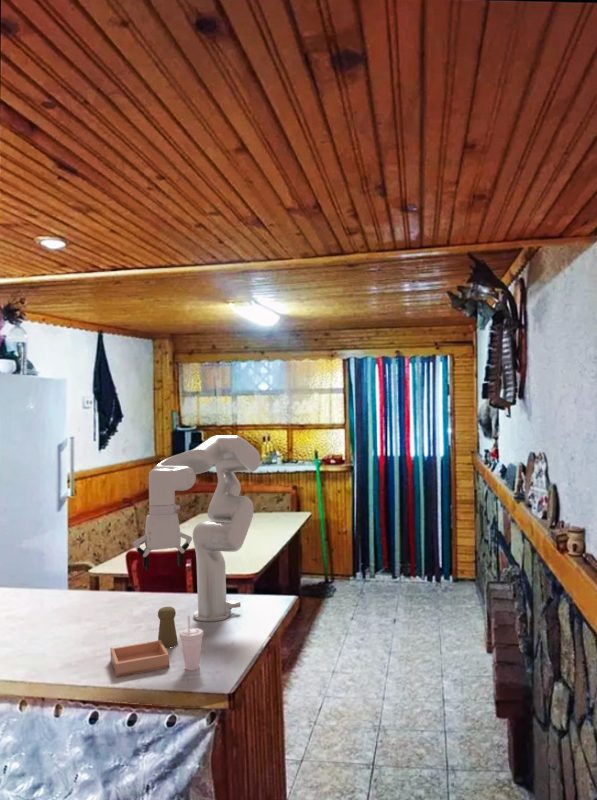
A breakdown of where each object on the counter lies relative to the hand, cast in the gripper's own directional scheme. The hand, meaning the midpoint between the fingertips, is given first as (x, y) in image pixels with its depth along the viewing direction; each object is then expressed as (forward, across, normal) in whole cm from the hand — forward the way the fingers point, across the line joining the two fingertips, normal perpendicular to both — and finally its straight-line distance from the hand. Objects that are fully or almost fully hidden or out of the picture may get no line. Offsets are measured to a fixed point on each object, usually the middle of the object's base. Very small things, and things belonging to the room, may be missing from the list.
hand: (163, 567), depth 194 cm
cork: (+23, -1, 0) cm, 23 cm away
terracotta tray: (+23, +9, +11) cm, 27 cm away
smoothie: (+23, -4, +20) cm, 31 cm away
